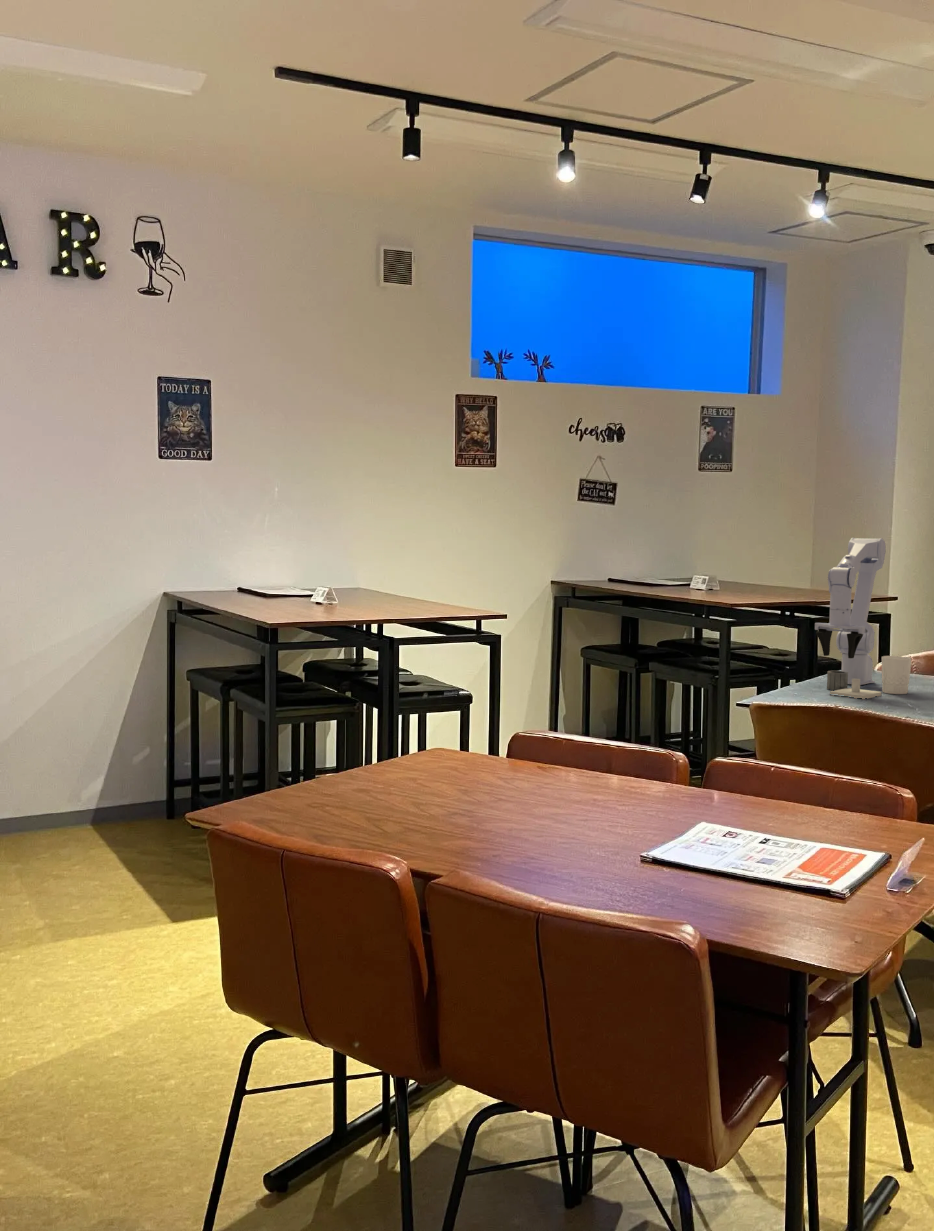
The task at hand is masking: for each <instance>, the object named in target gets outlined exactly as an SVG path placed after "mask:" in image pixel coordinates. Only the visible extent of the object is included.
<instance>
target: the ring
mask: <svg viewBox="0 0 934 1231" xmlns="http://www.w3.org/2000/svg"><path fill="white" fill-rule="evenodd" d="M826 672H827V674H826V677H827V678H826V690H828V689H831V690H830V691H833V690H840V689H845V688H849V687H848V685H849V684H848V672H845V671H842V670H828V671H826Z"/></svg>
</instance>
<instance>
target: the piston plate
mask: <svg viewBox="0 0 934 1231" xmlns="http://www.w3.org/2000/svg"><path fill="white" fill-rule="evenodd" d="M830 694H838V695H844V696H851V697H854V698H853V699H857V698H862V699H861V700H866V699H865V698H867V699H871V698H875V696H877V697H881V696H882V691H876V690H868V689H861V685H860V679H852V684H851V687H847V688H845V689H840V690H835V691H833V690H829V695H830Z"/></svg>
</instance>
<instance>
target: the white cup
mask: <svg viewBox="0 0 934 1231" xmlns="http://www.w3.org/2000/svg"><path fill="white" fill-rule="evenodd" d="M911 666H912V657H910V656H909V657H908V656H902V655H883V656H881V683H882V684H881V685H882V687H881V688H882V691H881V693H884V694H888V695H889V694H890V695H906V694H908V693H909V684H910V676H911Z"/></svg>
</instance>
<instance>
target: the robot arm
mask: <svg viewBox="0 0 934 1231" xmlns="http://www.w3.org/2000/svg"><path fill="white" fill-rule="evenodd" d="M886 548H887V547H886V540H884V539H883V537H879V538H869V537H868V538H866V537H864V538H863V537H859V538H857V537H851V538H850V540H849V541H848V544H847V554H845V555H844V556H843V557H842V558H841V560H840V561H839V563H838V564H837V565H836V566H834V567H832V568H830V569H829V570H828V574H827V583H828V593H829V594H830V596H829V600H830V601H829V622H828V623H827V622H815V623H814V630H815V631H816V632H815V634H816V637H817V638H818V640H819V642H820V645H821V646H820V647H821V649H822V655H823V656H825V657H827V656H830V652H831V639H832V635H833V632H837V634H836V641H835V644H836V645H835V646H836V648H837V650H838V651H839V653H840V654H841V671H845V672H848V685H852V679H860V686H863V685H866V684H867V685H868V684H874V683H876V681H875V680H873V668H874V667H873V666H874V664H873V663H874V661H873V658H872V657H871V655H870V653H871V652H872V651H873V650H874V647H875V633H876V632H875V629H874V627H873V626H872V625H871V624H870V623H869V622H868V615H869V611H870V605H871V600H872V594H873V588H874V585H875V584H874V583H875V578H876V575H877V571H879V570H881V569H883V567H884V564H885V556H886V550H887V549H886ZM857 574H858V575H857ZM856 577H857V580H856ZM855 581H856V582H855ZM855 583H856V586H855ZM854 586H855V592H854V596H853V602H852V589H853V588H854Z"/></svg>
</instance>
